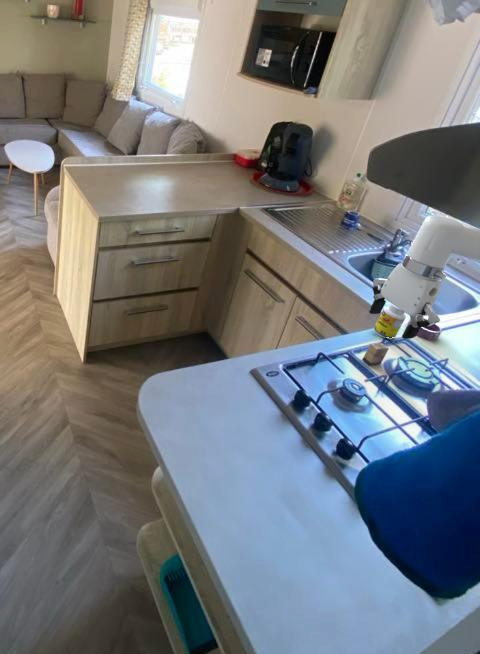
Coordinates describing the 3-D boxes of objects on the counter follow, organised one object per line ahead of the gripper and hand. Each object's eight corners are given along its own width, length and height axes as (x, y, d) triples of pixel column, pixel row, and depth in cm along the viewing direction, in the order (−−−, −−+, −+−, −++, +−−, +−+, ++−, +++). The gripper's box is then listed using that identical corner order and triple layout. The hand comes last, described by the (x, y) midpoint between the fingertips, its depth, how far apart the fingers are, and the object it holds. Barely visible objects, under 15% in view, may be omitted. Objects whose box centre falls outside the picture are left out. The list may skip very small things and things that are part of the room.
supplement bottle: (368, 327, 127) (383, 298, 123) (386, 329, 127) (401, 301, 123) (380, 339, 122) (395, 310, 118) (398, 341, 122) (414, 312, 118)
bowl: (428, 326, 132) (432, 319, 131) (443, 343, 125) (448, 335, 124) (401, 321, 133) (405, 313, 132) (415, 337, 125) (419, 329, 124)
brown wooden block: (373, 358, 113) (382, 342, 111) (380, 364, 111) (389, 348, 109) (361, 360, 112) (370, 343, 109) (368, 366, 110) (377, 349, 108)
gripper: (470, 287, 93) (433, 347, 100) (401, 249, 108) (373, 304, 115) (446, 287, 91) (409, 349, 98) (379, 248, 106) (351, 304, 113)
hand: (390, 325), depth 106 cm, fingers open, 9 cm apart
